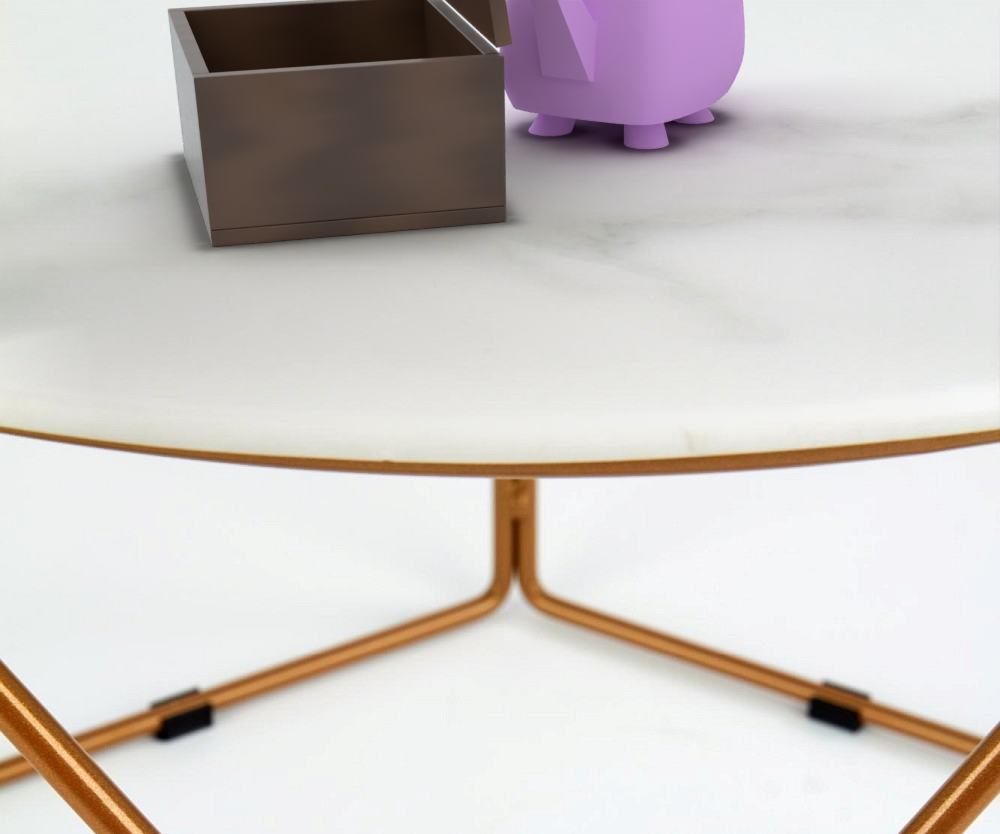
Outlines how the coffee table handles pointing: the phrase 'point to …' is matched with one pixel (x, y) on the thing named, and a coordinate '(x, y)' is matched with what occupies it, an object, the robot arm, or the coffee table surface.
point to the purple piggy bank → (622, 62)
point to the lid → (486, 18)
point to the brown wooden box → (338, 118)
